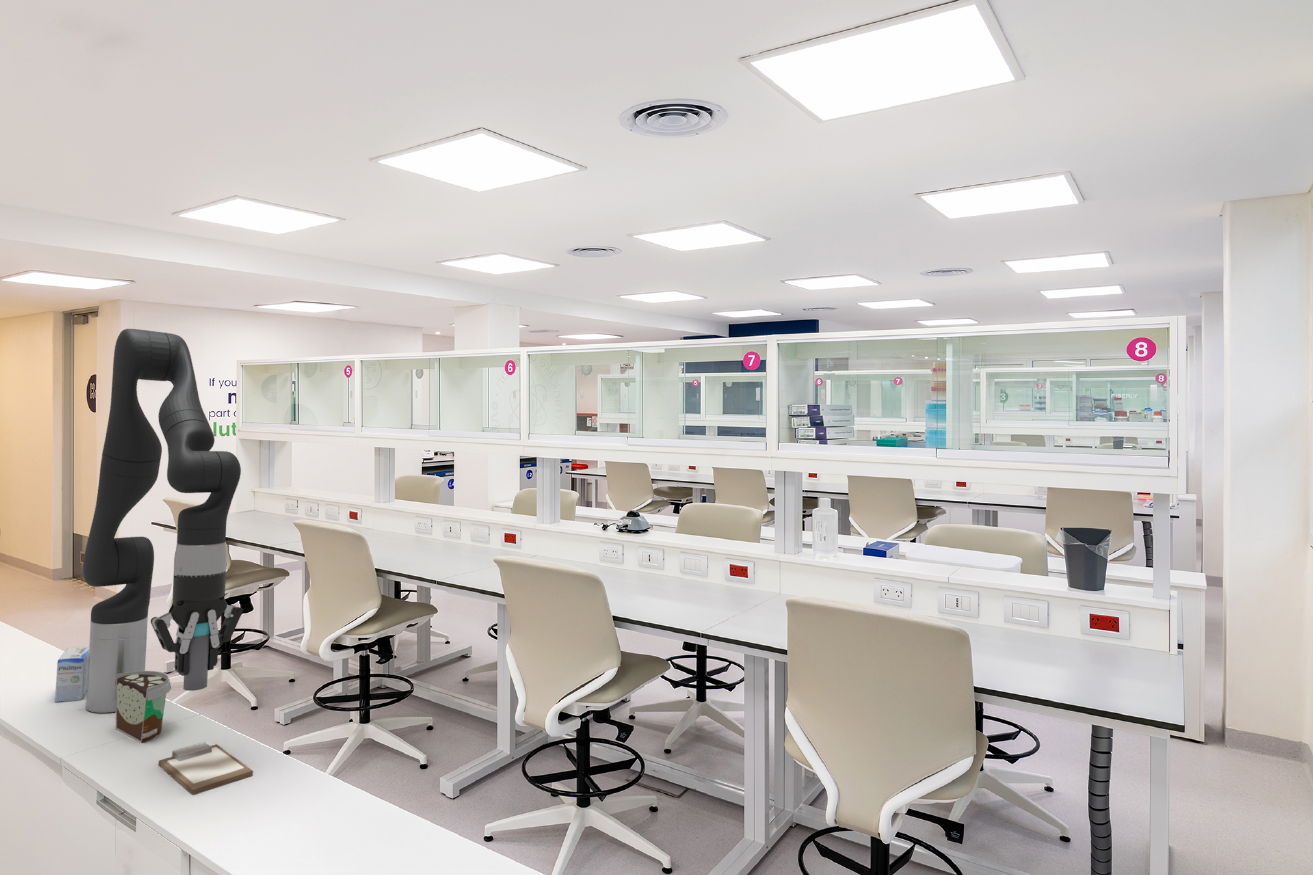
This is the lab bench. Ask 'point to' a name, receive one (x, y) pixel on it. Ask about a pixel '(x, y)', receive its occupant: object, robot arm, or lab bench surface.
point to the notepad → (204, 767)
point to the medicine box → (72, 674)
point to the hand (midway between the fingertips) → (195, 671)
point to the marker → (198, 659)
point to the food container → (141, 703)
